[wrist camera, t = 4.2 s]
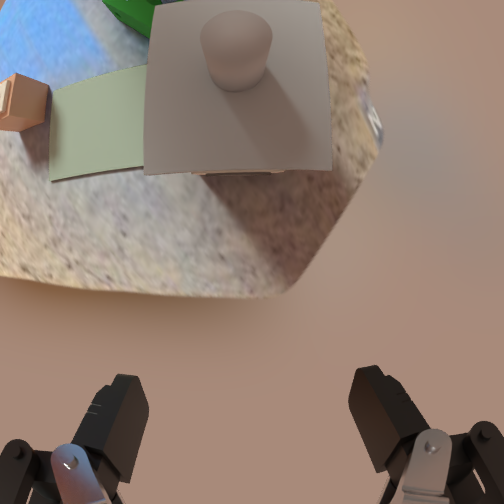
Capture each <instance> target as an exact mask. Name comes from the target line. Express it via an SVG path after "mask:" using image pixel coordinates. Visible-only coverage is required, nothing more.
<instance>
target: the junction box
mask: <svg viewBox="0 0 504 504" xmlns="http://www.w3.org/2000/svg"><path fill="white" fill-rule="evenodd" d="M143 163H144V175H159V174H171V173H184V172H191V174H197V175H206V176H234V175H271V173H279V172H285V170H314V171H332V127H331V106H330V91H329V78H328V67H327V57H326V48H325V39H324V32H323V25H322V18H321V11H320V5H319V3H317V2H310V1H303V0H188V1H180V2H174V3H168V4H162V5H157V6H155V10H154V15H153V21H152V28H151V35H150V42H149V51H148V60H147V70H146V83H145V99H144V126H143Z"/></svg>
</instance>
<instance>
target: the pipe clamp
mask: <svg viewBox="0 0 504 504" xmlns="http://www.w3.org/2000/svg"><path fill="white" fill-rule="evenodd" d="M180 1H184V0H178V1H176V2H180ZM102 2H103V3H104V4H105V5H106V6H107V7H108V9H109V10H110V11H111V12H112V13H113V14H114V16H115V17H116V18H117V19H118V20H120V21H121V22H123V23H125V24H127V25H128V26H130V27H131V28H133V29H135V30H136V31H138V32H140V33H141V34H143V35H144V36H146V37H147V38H149V39H150V35H151V28H152V21H153V15H154V10H155V6H157V5H162V2H161V0H128V1H126V0H102Z"/></svg>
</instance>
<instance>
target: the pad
mask: <svg viewBox="0 0 504 504" xmlns="http://www.w3.org/2000/svg"><path fill="white" fill-rule="evenodd" d="M146 70H147V64H146V65H140V66H136V67H131V68H126V69H122V70H118V71H114V72H110V73H106V74H103V75H99V76H96V77H92V78H89V79H86V80H83V81H80V82H77V83H74V84H71V85H68V86H65V87H63V88H60V89H57V90H55V91H53V99H52V108H51V118H50V133H49V181H53V180H58V179H63V178H68V177H73V176H78V175H84V174H90V173H96V172H102V171H109V170H116V169H123V168H131V167H139V166H144V163H143V126H144V99H145V83H146Z"/></svg>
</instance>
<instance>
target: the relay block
mask: <svg viewBox="0 0 504 504" xmlns="http://www.w3.org/2000/svg"><path fill="white" fill-rule="evenodd" d="M48 86H49V85H47V84H45V83H42V82H39V81H37V80H34V79H32V78H29V77H26V76H23V75H21V74H18V73H15V74H13V75H12V76H10V77H9V78H7V79H5V80H4V81H2V82H1V83H0V130H5V131H15V132H20V131H23V130H25V129H27V128H30V127H32V126H35V125H38V124H40V123H43V122H44V120H45V109H46V100H47V93H48Z"/></svg>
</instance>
